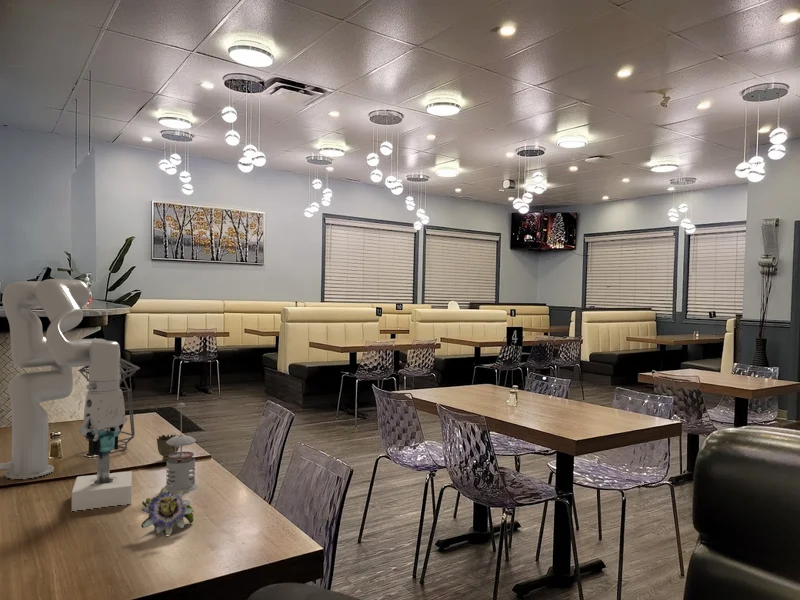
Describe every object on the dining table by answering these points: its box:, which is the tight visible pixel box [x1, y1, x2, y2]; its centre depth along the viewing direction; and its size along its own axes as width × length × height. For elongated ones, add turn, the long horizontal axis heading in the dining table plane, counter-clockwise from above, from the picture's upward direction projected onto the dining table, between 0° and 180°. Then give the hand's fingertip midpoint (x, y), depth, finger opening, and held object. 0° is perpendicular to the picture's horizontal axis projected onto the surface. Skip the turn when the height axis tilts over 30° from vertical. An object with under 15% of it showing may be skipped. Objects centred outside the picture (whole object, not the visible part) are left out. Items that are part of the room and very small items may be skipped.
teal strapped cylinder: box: [93, 429, 119, 484], centre depth 158 cm, size 9×6×16 cm, turn 69°
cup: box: [156, 433, 180, 461], centre depth 195 cm, size 8×7×8 cm
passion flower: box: [141, 486, 195, 536], centre depth 139 cm, size 11×11×12 cm
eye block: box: [71, 470, 133, 512], centre depth 158 cm, size 14×14×5 cm
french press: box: [163, 402, 199, 494], centre depth 169 cm, size 10×12×25 cm
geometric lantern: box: [77, 357, 141, 454], centre depth 206 cm, size 16×16×35 cm
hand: (103, 451), depth 158 cm, fingers closed on teal strapped cylinder, 5 cm apart
